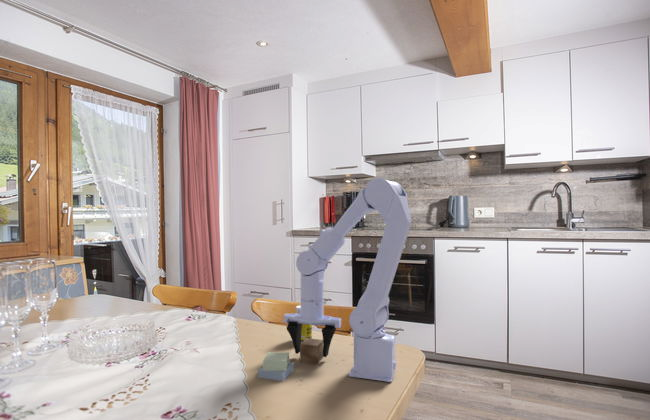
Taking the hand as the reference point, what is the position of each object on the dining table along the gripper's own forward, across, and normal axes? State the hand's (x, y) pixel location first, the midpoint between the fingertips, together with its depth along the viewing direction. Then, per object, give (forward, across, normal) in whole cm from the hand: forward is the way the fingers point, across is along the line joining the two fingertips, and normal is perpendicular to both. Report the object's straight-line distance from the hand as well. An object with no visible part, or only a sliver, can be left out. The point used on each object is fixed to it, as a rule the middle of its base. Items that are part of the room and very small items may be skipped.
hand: (311, 353), depth 92 cm
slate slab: (+2, +5, +10) cm, 11 cm away
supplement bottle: (+2, +7, -12) cm, 14 cm away
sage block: (0, +5, +10) cm, 11 cm away
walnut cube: (+2, 0, 0) cm, 2 cm away
